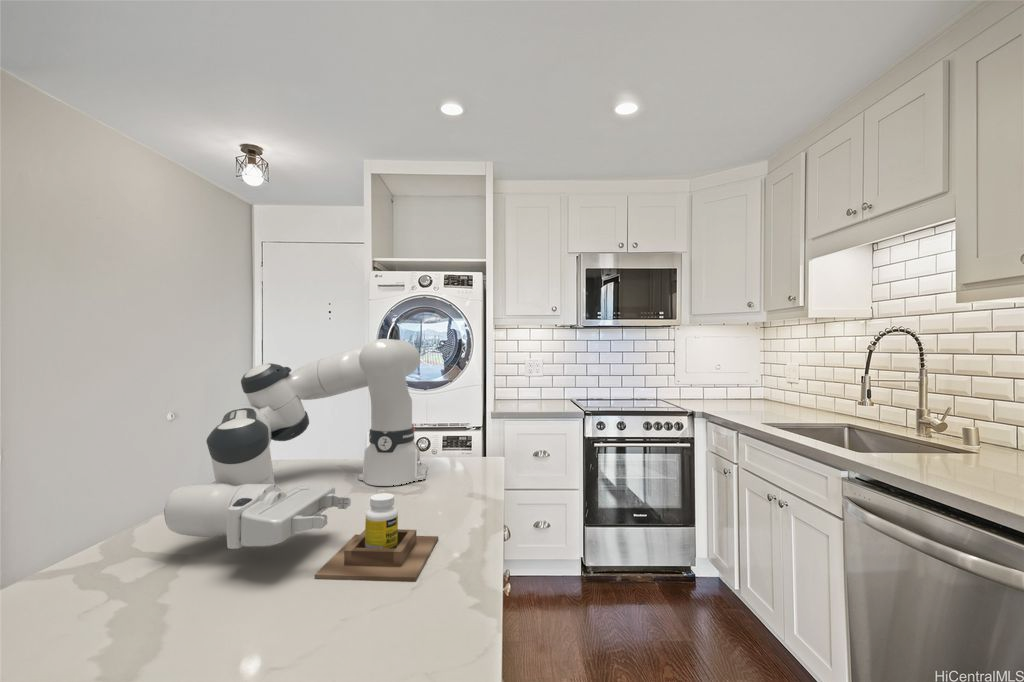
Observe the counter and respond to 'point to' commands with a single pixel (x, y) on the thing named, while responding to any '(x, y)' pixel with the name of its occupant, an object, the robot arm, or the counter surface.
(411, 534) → the walnut can holder
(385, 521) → the supplement bottle
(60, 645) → the counter surface
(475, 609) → the counter surface
